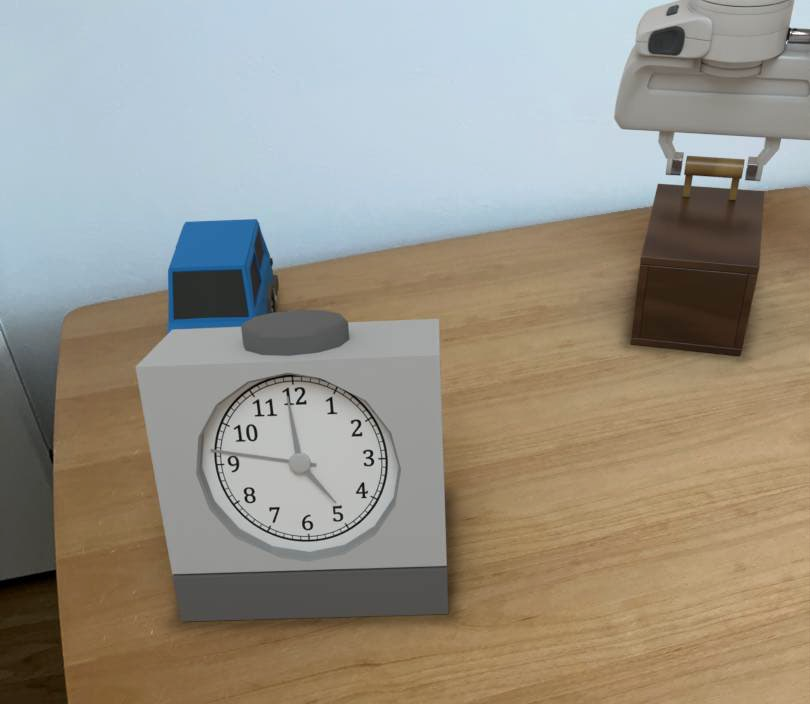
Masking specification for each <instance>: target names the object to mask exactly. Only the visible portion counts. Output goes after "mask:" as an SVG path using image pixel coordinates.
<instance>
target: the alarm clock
mask: <svg viewBox="0 0 810 704" xmlns="http://www.w3.org/2000/svg"><path fill="white" fill-rule="evenodd" d="M441 368H442V367H441V335H440V318H420V319H401V320H400V319H399V320H397V319H395V320H372V321H369V320H368V321H349V322H348V321H347V320H346V318H345V317H344V316H343V315H342V314H341V313H340V312H335V311H330V310H326V309H325V310H324V309H294V310H284V311H276V312H274V313H270V314H266V315H261V316H257V317H254V318H252V319H250V320H248V321H247V322H245V323H243V325H242V326H241V327H223V328H199V329H174V330H171V331H170V332H169V333H168V334H167V333H166V335H165V336H164V337H163V338H162V339H161V340H160V341H159V342H158V344H156V345H155V346H154V347H153V348H152V350H150V351H149V353H147V355H146V356H144V357H143V359H142V360H141V361H139V363H137V365H136V366H135V373H136V379H137V384H138V389H139V396H140V402H141V406H142V407H141V408H142V413H143V416H144V417H143V418H144V425H145V430H146V434H147V441H148V446H149V452H150V457H151V462H152V468H153V474H154V479H155V486H156V491H157V497H158V503H159V508H160V513H161V519H162V525H163V530H164V531H163V532H164V537H165V542H166V547H167V552H168V558H169V563H170V570H171V574H172V581H173V587H174V592H175V598H176V602H177V608H178V614H179V619H180V622H182V623H183V622H216V621H218V622H219V621H246V620H247V621H252V620H253V621H254V620H283V619H284V620H286V619H287V620H288V619H321V618H356V617H357V618H359V617H360V618H361V617H391V616H392V617H393V616H424V615H425V616H431V615H449V589H448V588H449V587H448V556H447V555H448V553H447V521H446V519H447V518H446V488H445V487H446V485H445V459H444V458H445V457H444V455H445V453H444V427H443V426H444V424H443V397H442V394H443V393H442V369H441Z"/></svg>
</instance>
